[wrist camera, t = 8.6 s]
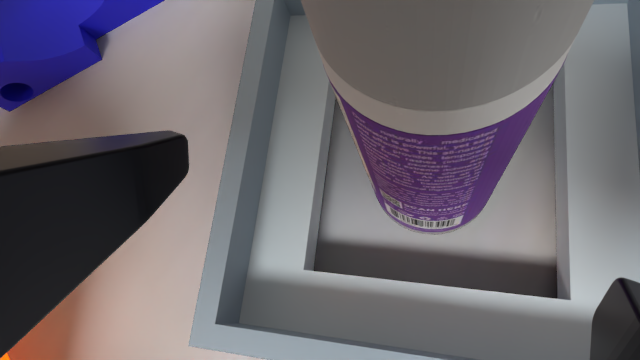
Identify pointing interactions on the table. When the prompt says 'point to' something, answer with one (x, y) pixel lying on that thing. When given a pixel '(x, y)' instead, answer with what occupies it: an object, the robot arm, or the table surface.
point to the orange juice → (5, 357)
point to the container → (440, 93)
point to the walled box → (399, 296)
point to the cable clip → (54, 41)
